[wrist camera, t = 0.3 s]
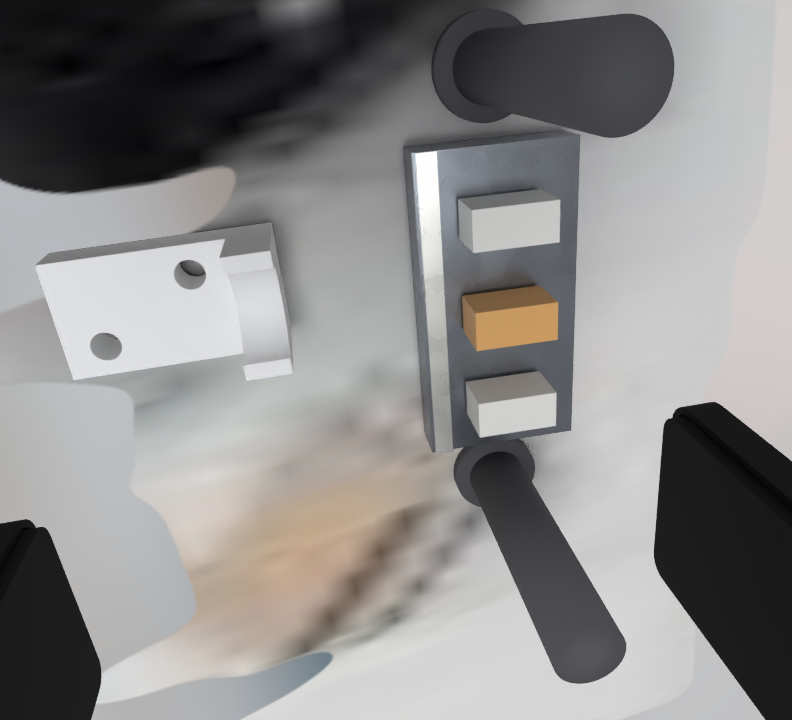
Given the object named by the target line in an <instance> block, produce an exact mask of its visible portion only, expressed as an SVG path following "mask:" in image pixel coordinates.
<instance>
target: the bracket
mask: <svg viewBox="0 0 792 720" xmlns="http://www.w3.org/2000/svg"><path fill="white" fill-rule="evenodd" d="M184 260H194V261H196V262H198V263H200V264H201V265H202V266H203V268H204V270H205V272H206V273H205V274H204V275H201V276H191V275H188V274H187V273H185V272H184V271H183V269H182V268H181V265H180V262H181V261H184ZM35 268H36V270H37V273H38V276H39V279H40V282H41V285H42V288H43V291H44V294H45V297H46V300H47V303H48V306H49V309H50V312H51V315H52V317H53V320H54V323H55V326H56V329H57V332H58V335H59V338H60V341H61V344H62V347H63V350H64V353H65V356H66V359H67V361H68V364H69V367H70V370H71V373H72V376H73V379H74V380H77V379H84V378H90V377H96V376H103V375H109V374H116V373H122V372H128V371H135V370H141V369H147V368H154V367H160V366H167V365H173V364H179V363H186V362H192V361H198V360H205V359H211V358H217V357H224V356H230V355H237V354H243V367H244V372H245V376H246V381H249V380H255V379H262V378H268V377H274V376H280V375H287V374H293V357H292V333H291V323H290V317H289V312H288V306H287V301H286V295H285V290H284V284H283V279H282V275H281V271H280V266H279V260H278V255H277V249H276V244H275V238H274V233H273V227H272V222H270V223H262V224H255V225H248V226H241V227H234V228H226V229H219V230H212V231H205V232H198V233H191V234H183V235H176V236H169V237H162V238H155V239H147V240H140V241H133V242H126V243H119V244H112V245H104V246H97V247H90V248H83V249H76V250H69V251H62V252H55V253H49V254H48V255H47V256H45V257H44V258H43V259H42V260H41V261H40V262H38V263H37V264H36V265H35ZM106 333H110V334H113V335H114V336H116V337H117V338H118V339H119V340H117V339H113V338H111V337H109V336H108V335H107V334H106Z"/></svg>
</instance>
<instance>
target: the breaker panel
mask: <svg viewBox="0 0 792 720" xmlns="http://www.w3.org/2000/svg"><path fill="white" fill-rule="evenodd" d="M403 150H404V164H405V177H406V191H407V204H408V217H409V231H410V244H411V258H412V271H413V285H414V298H415V311H416V325H417V338H418V352H419V365H420V378H421V392H422V405H423V419H424V432H425V434H426V437H427V440H428V442H429V445H430V447H431V450H432V452H435V453H436V454H439V453H445V452H452V451H453V449H455V448H462V447H468V446H474V445H481V444H487V443H494V442H500V441H506V440H513V439H519V438H525V437H532V436H538V435H545V434H551V433H557V432H564V431H570V430H571V415H572V382H573V350H574V317H575V284H576V252H577V219H578V186H579V154H580V135H578V134H575V133H571V132H567V131H564V130H558V131H548V132H539V133H530V134H520V135H511V136H502V137H492V138H483V139H474V140H464V141H455V142H446V143H437V144H427V145H418V146H409V147H403ZM538 189H541V190H543V191H545V192H547V193H548V194H550V195H552V196H554V197H556V198H558V199H560V242H558V243H550V244H542V245H534V246H526V247H519V248H511V249H503V250H495V251H487V252H479V253H473V252H472V251H471V250H470V249H469V248H468V247H467V246H466V245H465V244H464V243H463V242H462V241H461V240H460V237H459V214H458V199H461V198H469V197H478V196H486V195H495V194H503V193H512V192H521V191H529V190H538ZM539 285H540V286H541V287H542V288H543V289H544V290H545V291H546V292H547V293H549V294H550V295H551V296H552V297H553V298H554V299H555V300H556V301H557V302H558V340H552V341H545V342H538V343H531V344H524V345H517V346H510V347H503V348H496V349H489V350H482V351H476V349H475V348H474V346H473V345H472V343H471V342H470V340H469V339H468V337H467V336H466V334H465V333H464V329H463V306H462V296H464V295H471V294H479V293H486V292H494V291H502V290H509V289H517V288H524V287H532V286H539ZM536 371H539V372H540V373H541V374H542V375H543V377H544V378H545V379H546V380H547V382H548V383H549V384H550V385H551V386H552V388H553V389H554V390H555V391H556V393H557V396H556V426H552V427H545V428H539V429H532V430H526V431H520V432H513V433H507V434H500V435H494V436H487V437H481V438H480V437H479V435H478V433H477V431H476V429H475V428H474V426H473V424H472V422H471V420H470V418H469V416H468V414H467V399H466V382H467V381H474V380H481V379H488V378H495V377H502V376H508V375H515V374H522V373H529V372H536Z"/></svg>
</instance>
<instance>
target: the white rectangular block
mask: <svg viewBox="0 0 792 720" xmlns="http://www.w3.org/2000/svg"><path fill="white" fill-rule="evenodd" d="M556 396H557V393H556V391H555V390H554V389H553V388H552V386H551V385H550V384H549V383H548V382H547V380H546V379H545V378H544V377H543V375H542V374H541V373H540V372H539V371H536V372H529V373H522V374H515V375H508V376H502V377H495V378H488V379H481V380H474V381H467V382H466V399H467V414H468V416H469V418H470V420H471V422H472V424H473V426H474V428H475V429H476V431H477V433H478V435H479V437H480V438H481V437H487V436H494V435H500V434H507V433H513V432H520V431H526V430H532V429H539V428H545V427H552V426H556Z"/></svg>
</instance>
